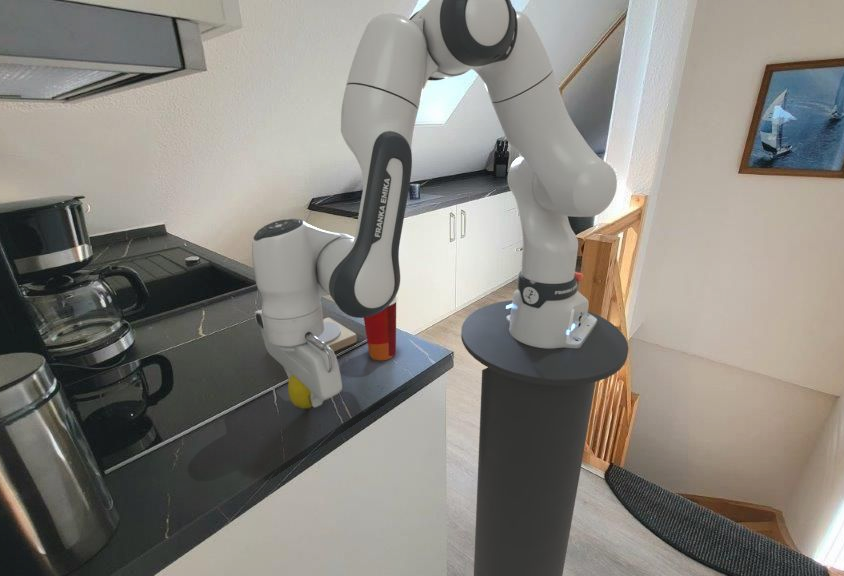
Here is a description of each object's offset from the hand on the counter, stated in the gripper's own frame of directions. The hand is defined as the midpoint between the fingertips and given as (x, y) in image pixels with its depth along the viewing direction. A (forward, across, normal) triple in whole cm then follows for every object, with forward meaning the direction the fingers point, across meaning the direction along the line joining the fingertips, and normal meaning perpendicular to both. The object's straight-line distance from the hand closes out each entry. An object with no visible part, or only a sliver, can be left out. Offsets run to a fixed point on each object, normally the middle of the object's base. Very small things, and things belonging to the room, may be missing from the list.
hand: (306, 394), depth 69 cm
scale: (+3, +19, -12) cm, 23 cm away
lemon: (+3, 0, 0) cm, 3 cm away
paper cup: (+3, +5, -20) cm, 21 cm away
